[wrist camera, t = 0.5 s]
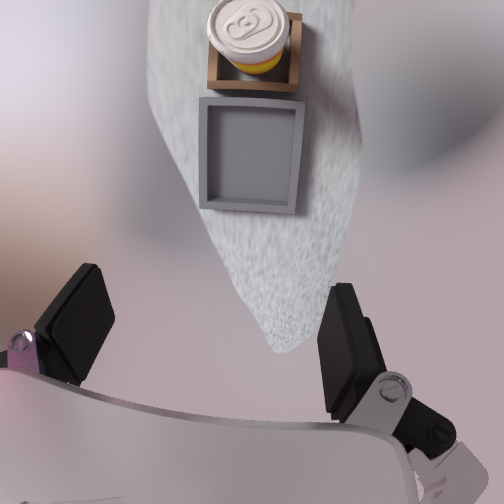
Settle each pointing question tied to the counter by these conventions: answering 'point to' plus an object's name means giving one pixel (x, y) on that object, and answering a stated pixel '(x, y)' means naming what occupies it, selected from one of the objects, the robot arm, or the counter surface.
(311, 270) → the counter surface
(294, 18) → the collar
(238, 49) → the beer can
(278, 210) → the tray
